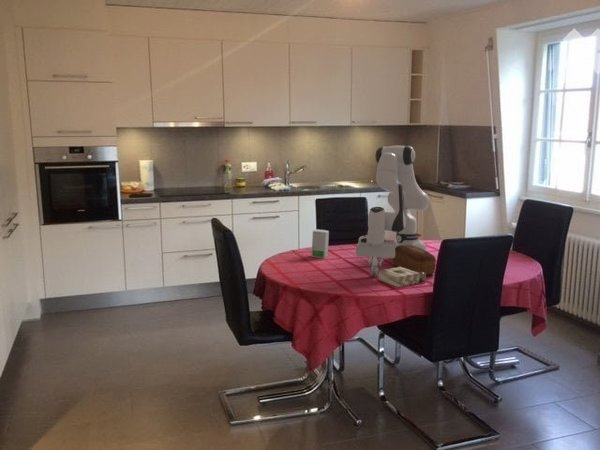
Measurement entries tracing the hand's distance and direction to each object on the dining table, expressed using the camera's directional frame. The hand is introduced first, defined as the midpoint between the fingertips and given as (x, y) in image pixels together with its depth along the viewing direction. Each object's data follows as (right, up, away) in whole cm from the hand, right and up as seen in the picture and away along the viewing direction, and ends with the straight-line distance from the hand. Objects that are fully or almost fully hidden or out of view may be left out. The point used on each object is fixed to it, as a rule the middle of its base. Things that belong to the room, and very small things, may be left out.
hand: (374, 265), depth 298 cm
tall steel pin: (0, -6, +1) cm, 6 cm away
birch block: (+11, -8, -8) cm, 16 cm away
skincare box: (-27, +2, +40) cm, 48 cm away
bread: (+22, -4, +14) cm, 26 cm away
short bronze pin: (+23, -8, -8) cm, 25 cm away
